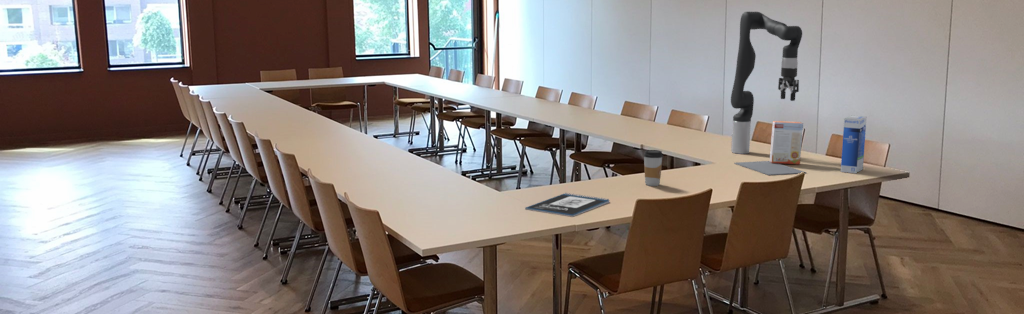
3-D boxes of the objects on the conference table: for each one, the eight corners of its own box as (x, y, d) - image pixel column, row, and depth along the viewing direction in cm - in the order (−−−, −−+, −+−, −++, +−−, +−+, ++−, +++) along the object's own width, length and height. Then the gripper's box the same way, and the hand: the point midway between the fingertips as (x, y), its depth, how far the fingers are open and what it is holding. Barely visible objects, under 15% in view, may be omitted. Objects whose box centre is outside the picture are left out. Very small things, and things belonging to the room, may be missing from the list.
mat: (734, 163, 436) (734, 162, 436) (769, 161, 441) (769, 160, 441) (768, 175, 405) (768, 174, 405) (806, 173, 410) (806, 172, 410)
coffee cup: (657, 187, 379) (658, 153, 377) (639, 185, 384) (640, 151, 381) (664, 184, 386) (665, 150, 384) (647, 182, 390) (648, 149, 388)
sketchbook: (525, 211, 339) (525, 205, 338) (564, 197, 363) (564, 192, 363) (572, 218, 327) (572, 212, 326) (610, 203, 351) (610, 198, 351)
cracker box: (797, 162, 437) (801, 121, 434) (800, 164, 431) (804, 123, 428) (768, 161, 439) (772, 120, 435) (771, 163, 433) (775, 121, 429)
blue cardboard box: (847, 167, 424) (851, 115, 420) (863, 169, 420) (867, 116, 415) (840, 172, 414) (843, 118, 409) (856, 173, 409) (860, 119, 405)
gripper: (774, 66, 433) (773, 98, 435) (790, 68, 419) (789, 101, 422) (787, 65, 435) (786, 98, 437) (804, 67, 421) (802, 101, 424)
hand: (787, 99), depth 430 cm, fingers open, 8 cm apart
